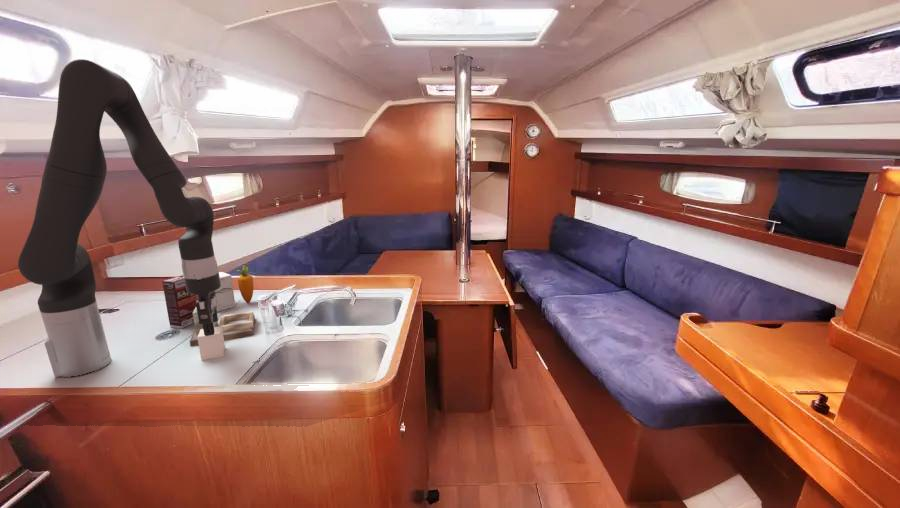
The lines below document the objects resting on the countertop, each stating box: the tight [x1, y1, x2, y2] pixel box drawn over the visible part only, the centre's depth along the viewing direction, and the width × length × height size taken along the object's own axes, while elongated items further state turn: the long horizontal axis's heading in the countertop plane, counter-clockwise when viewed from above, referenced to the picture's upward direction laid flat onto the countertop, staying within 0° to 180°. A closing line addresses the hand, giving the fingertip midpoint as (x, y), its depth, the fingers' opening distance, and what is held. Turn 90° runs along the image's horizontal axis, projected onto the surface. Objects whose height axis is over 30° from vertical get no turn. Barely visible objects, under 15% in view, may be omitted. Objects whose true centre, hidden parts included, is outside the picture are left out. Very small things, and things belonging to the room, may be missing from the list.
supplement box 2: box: [215, 271, 236, 313], centre depth 122 cm, size 7×7×13 cm
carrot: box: [236, 265, 254, 304], centre depth 126 cm, size 5×5×15 cm
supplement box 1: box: [161, 274, 198, 329], centre depth 109 cm, size 9×5×16 cm, turn 168°
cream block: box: [197, 326, 226, 361], centre depth 93 cm, size 5×5×7 cm
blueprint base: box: [189, 307, 256, 347], centre depth 105 cm, size 16×13×9 cm
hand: (211, 328), depth 92 cm, fingers open, 8 cm apart
